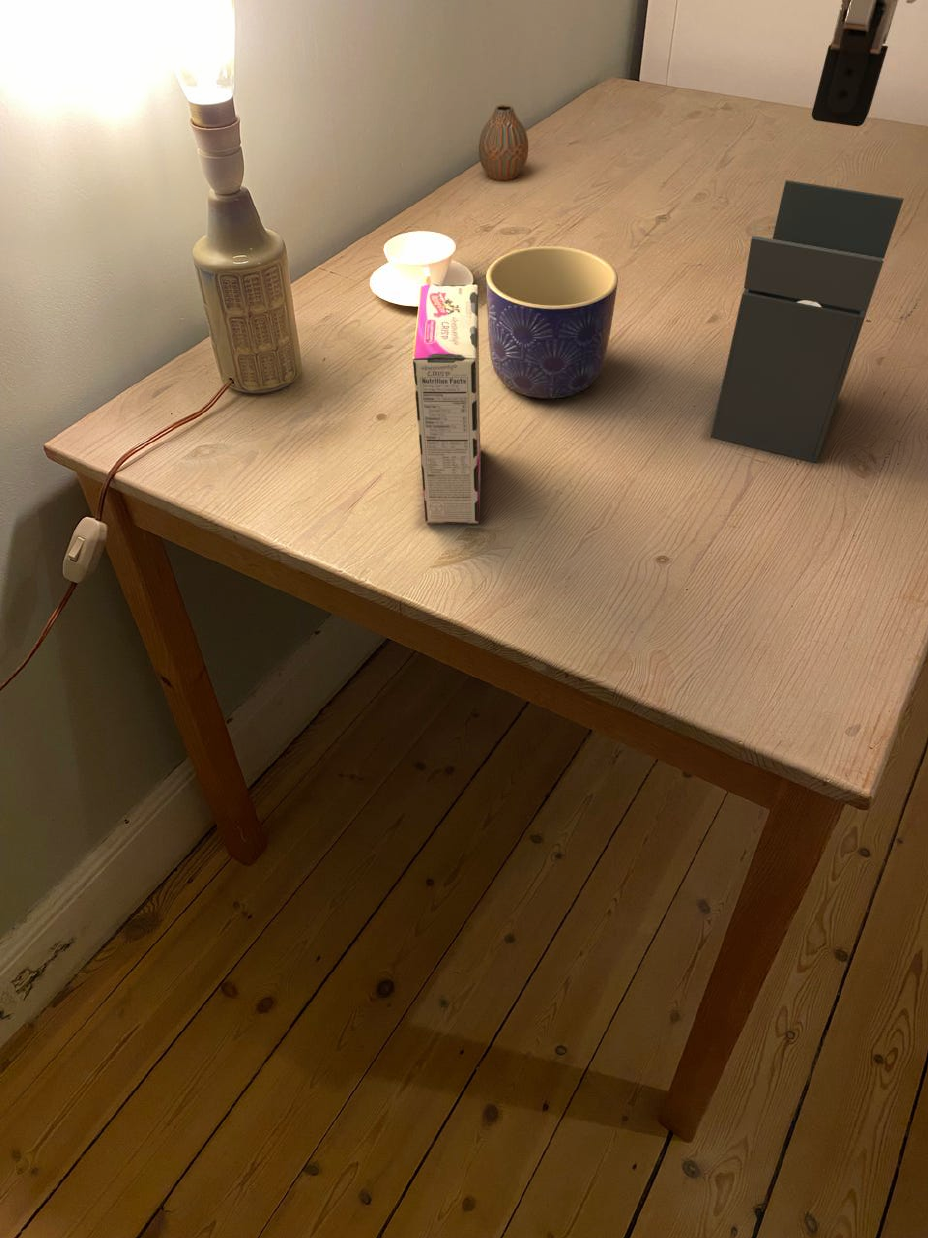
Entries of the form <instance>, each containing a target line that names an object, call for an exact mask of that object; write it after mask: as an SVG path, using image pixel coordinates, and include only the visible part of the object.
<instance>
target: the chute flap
mask: <svg viewBox="0 0 928 1238" xmlns="http://www.w3.org/2000/svg"><path fill="white" fill-rule="evenodd" d="M882 261H884V259H883V258H877V257H871V256H866V255H860V254H854V253H849V252H843V251H837V250H832V249H826V248H820V247H815V246H809V245H803V244H798V243H792V242H786V241H781V240H775V239H773V238H769V237H768V238H767V237H762V236H758V235H757V236H756V235H751V238H750V245H749V252H748V258H747V265H746V270H745V272H746V273H745V278H744V283H743V289H744V290H745V289H750V290H756V291H761V292H766V293H771V294H776V295H781V296H786V297H792V298H797V299H802V300H807V301H812V302H817V303H822V304H828V305H833V306H838V307H843V308H848V309H853V310H858V311H863V312H866V309H867V306H868V303H869V300H870V297H871V294H872V291H873V288H874V284H875V281H876V278H877V275H878V272H879V269H880V266H881V263H882Z"/></svg>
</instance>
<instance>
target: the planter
mask: <svg viewBox="0 0 928 1238" xmlns="http://www.w3.org/2000/svg"><path fill="white" fill-rule="evenodd" d="M485 278H486V279H485V280H486V304H487V305H486V308H487V309H486V310H487V333H488V347H489V354H490V355H489V356H490V361H491V365H492V368H493V371H494V373H495V375H496V377H497V378H498V379H499V380H500V382H502V384H503V385H505V386H506V387H508V388H509V389H511V390H512V391H514V392H516V393H518V394H521V395H524V396H526V397H530V398H536V399H537V398H538V399H559V398H565V397H570V396H572V395H576V394H578V393H580V392H581V391H583V390H585V389H587V388H589V387H590V385H592V384H593V383H594V382H595V381H596V379H597V378H598V376H599V375H600V373H601V371H602V368H603V366H604V362H605V359H606V356H607V351H608V347H609V342H610V341H609V340H610V336H611V329H612V322H613V317H614V310H615V304H616V297H617V289H618V285H619V284H618V283H619V275H618V273H617V270H616V268H615V267H614V266H613V265H612V264H611V263H610V262H608V261H607V260H606V259H604V258H603V257H601V256H599V255H597V254H595V253H593V252H590V251H587V250H583V249H580V248H575V247H570V246H569V247H568V246H559V245H541V246H530V247H525V248H520V249H516V250H513V251H511V252H508V253H506V254H504V255H502V256H499V258H497V259H496V260H495V261H493V262H492V263H491V265H490V266H489V267H488V269H487V271H486V276H485Z"/></svg>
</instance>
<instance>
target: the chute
mask: <svg viewBox="0 0 928 1238" xmlns="http://www.w3.org/2000/svg"><path fill="white" fill-rule="evenodd" d="M904 199H905V198H904V197H897V196H892V195H883V194H877V193H871V192H866V191H858V190H852V189H846V188H840V187H839V188H838V187H833V186H828V185H819V184H815V183H814V184H813V183H808V182H801V181H794V180H787V179H786V180H785V182H784V185H783V189H782V194H781V199H780V203H779V208H778V212H777V217H776V221H775V222H776V223H775V225H774V230H773V235H772V239H774V240H780V241H785V242H791V243H797V244H802V245H808V246H814V247H819V248H825V249H831V250H836V251H842V252H848V253H853V254H859V255H865V256H870V257H876V258H882V259H883V260H882V263H881V266H880V269H879V272H878V275H877V278H876V281H875V284H874V288H873V291H872V294H871V297H870V300H869V303H868V306H867V309H866V312H863V311H858V310H853V309H848V308H843V307H838V306H833V305H828V304H822V303H818V304H819V305H820V306H821V307H817V306H812V305H807V304H802V303H797V302H799V301H803V300H802V299H797V298H792V297H786V296H781V295H776V294H771V293H766V292H761V291H756V290H750V289H745V288H744V290H743V292H742V294H741V298H740V302H739V306H738V311H737V315H736V321H735V325H734V329H733V334H732V338H731V343H730V347H729V351H728V357H727V361H726V365H725V370H724V376H723V379H722V382H721V383H722V384H721V387H720V392H719V397H718V398H719V399H718V402H717V406H716V410H715V416H714V419H713V424H712V427H711V428H712V429H711V434H710V438H713V439H717V440H720V441H724V442H725V441H726V442H730V443H733V444H737V445H740V446H741V445H742V446H745V447H749V448H753V449H758V450H761V451H766V452H769V453H773V454H777V455H782V456H785V457H790V458H794V459H797V460H802V461H806V462H811V463H814V464H817V461H818V460H819V455H820V453H821V450H822V448H823V444H824V442H825V438H826V435H827V433H828V429H829V426H830V424H831V420H832V419H833V415H834V412H835V409H836V406H837V403H838V401H839V397H840V394H841V391H842V388H843V385H844V382H845V379H846V376H847V374H848V371H849V368H850V364H851V361H852V358H853V355H854V352H855V349H856V346H857V343H858V340H859V337H860V334H861V330H862V329H863V325H864V322H865V319H866V316H867V313H868V310H869V307H870V305H871V301H872V297H873V295H874V291H875V288H876V286H877V283H878V279H879V276H880V274H881V270H882V268H883V265H884V262H885V261H884V259H885V256H886V254H887V250H888V248H889V245H890V242H891V239H892V235H893V232H894V230H895V227H896V224H897V221H898V218H899V215H900V211H901V208H902V205H903V202H904Z"/></svg>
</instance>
